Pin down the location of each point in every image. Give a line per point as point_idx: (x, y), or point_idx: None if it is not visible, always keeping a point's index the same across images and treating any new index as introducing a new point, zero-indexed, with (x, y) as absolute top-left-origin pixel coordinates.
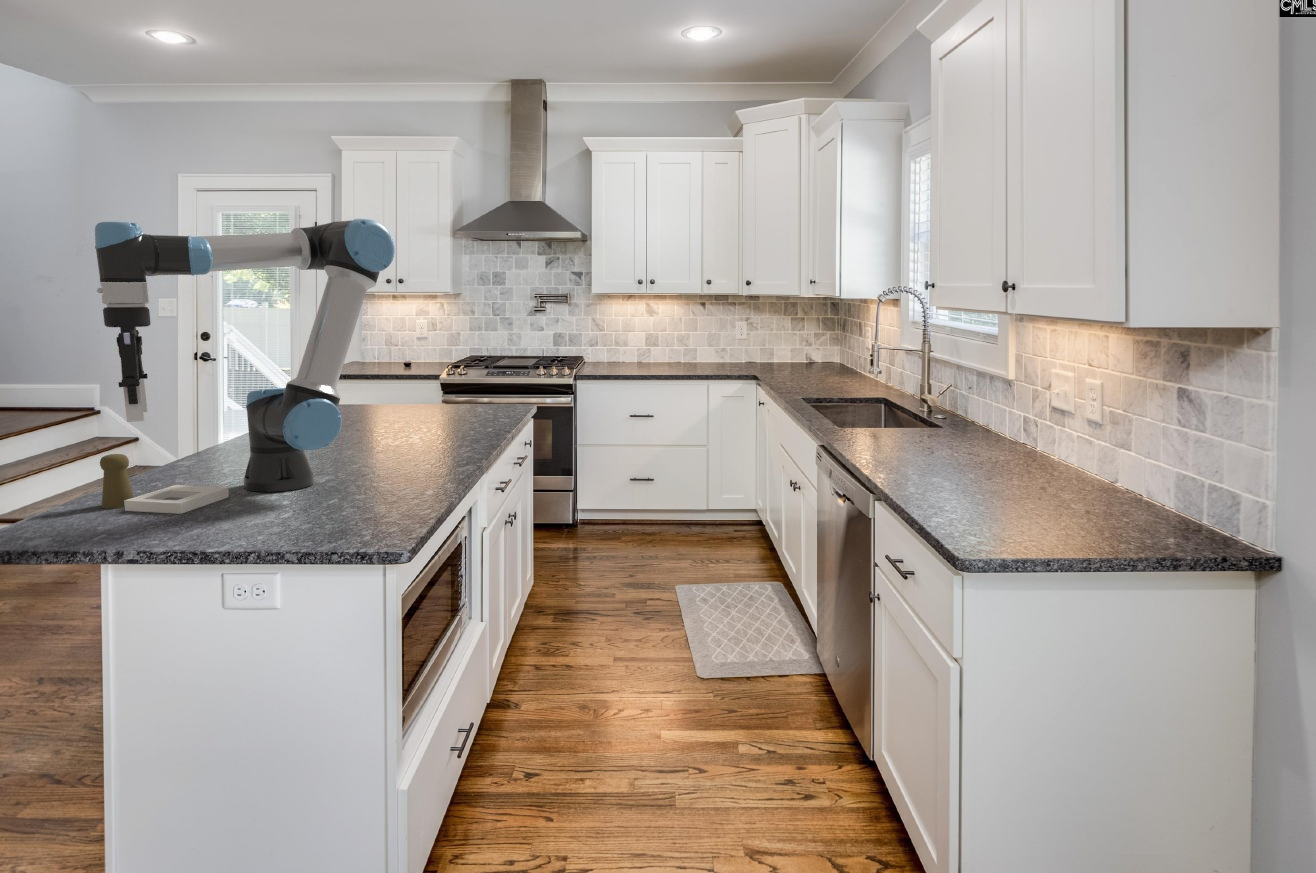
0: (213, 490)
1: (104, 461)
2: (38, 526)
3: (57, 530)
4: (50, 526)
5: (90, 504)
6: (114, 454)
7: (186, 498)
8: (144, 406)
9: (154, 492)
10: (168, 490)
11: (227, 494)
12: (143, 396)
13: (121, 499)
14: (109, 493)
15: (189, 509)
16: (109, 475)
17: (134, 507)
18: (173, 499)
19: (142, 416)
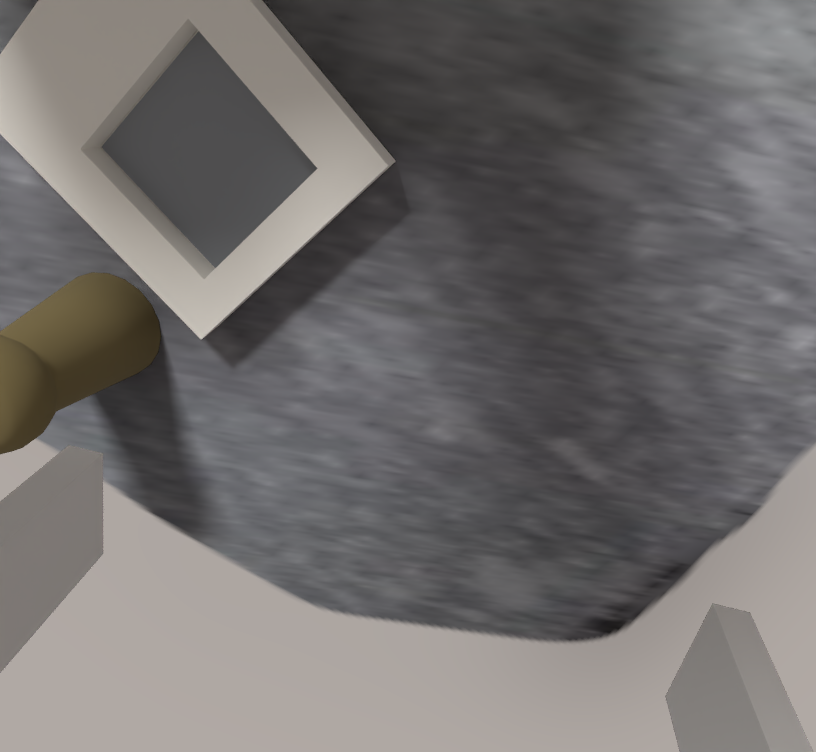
0: None
1: (21, 444)
2: (303, 556)
3: (393, 529)
4: (324, 534)
5: None
6: None
7: (298, 119)
8: (70, 497)
9: (98, 213)
10: (80, 153)
11: None
12: (2, 566)
13: (138, 333)
14: (116, 377)
15: (360, 119)
16: (64, 401)
17: (240, 304)
18: (154, 144)
19: (758, 650)
